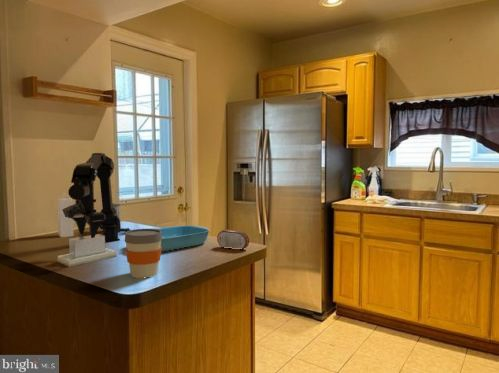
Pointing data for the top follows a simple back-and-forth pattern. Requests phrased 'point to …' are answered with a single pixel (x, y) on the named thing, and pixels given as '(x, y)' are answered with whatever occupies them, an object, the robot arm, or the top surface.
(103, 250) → the white rectangular block
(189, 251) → the top surface
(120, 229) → the milk frother
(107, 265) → the top surface
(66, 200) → the milk
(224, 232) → the portable speaker
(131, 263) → the reusable coffee cup
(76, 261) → the tray
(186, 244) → the casserole dish
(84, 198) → the robot arm
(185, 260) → the top surface
